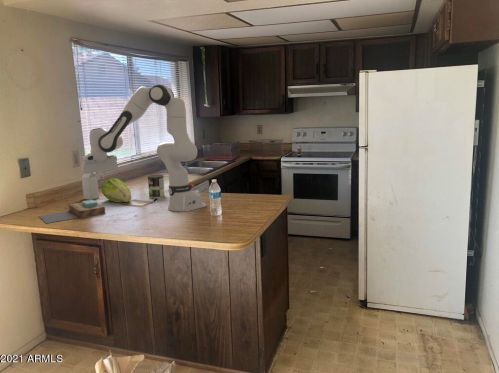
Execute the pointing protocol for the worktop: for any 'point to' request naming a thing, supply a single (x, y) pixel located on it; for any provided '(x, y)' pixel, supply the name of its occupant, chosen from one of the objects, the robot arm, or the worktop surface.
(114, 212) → the worktop surface
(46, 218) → the grey mat
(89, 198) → the milk carton
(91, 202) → the teal block
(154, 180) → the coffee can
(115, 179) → the lettuce
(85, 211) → the board
